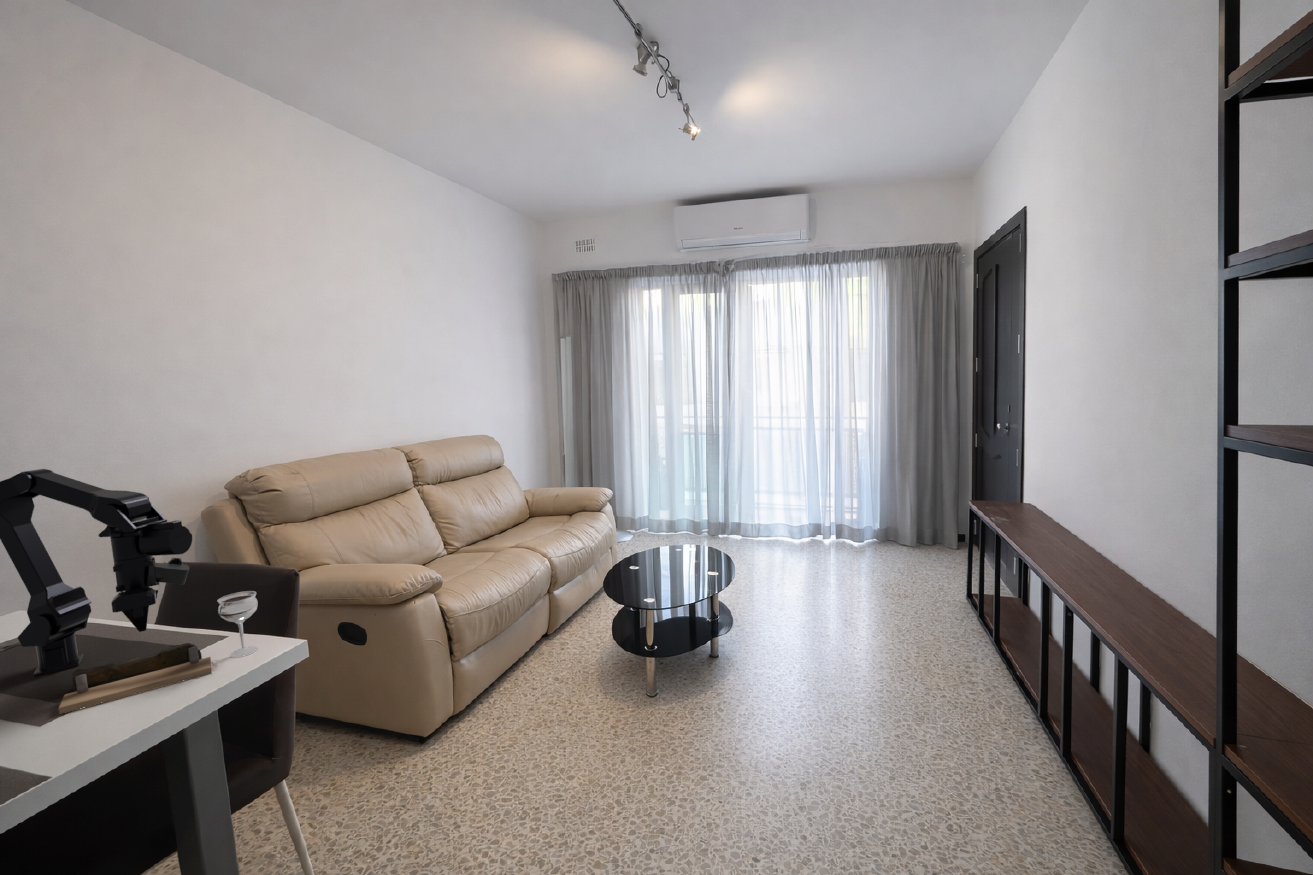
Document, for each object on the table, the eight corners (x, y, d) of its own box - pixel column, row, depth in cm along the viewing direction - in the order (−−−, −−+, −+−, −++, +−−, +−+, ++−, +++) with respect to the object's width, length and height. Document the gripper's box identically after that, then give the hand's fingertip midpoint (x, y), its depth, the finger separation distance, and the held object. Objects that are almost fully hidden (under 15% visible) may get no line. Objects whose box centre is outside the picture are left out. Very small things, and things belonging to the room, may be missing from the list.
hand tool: (71, 695, 108) (67, 671, 107) (79, 686, 111) (76, 663, 111) (198, 668, 116) (196, 646, 116) (203, 660, 120) (200, 638, 120)
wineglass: (260, 654, 121) (253, 598, 120) (220, 662, 118) (213, 605, 117) (265, 641, 127) (259, 588, 126) (227, 649, 124) (221, 595, 123)
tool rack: (65, 700, 105) (62, 678, 105) (211, 662, 118) (208, 642, 118) (59, 714, 101) (56, 691, 100) (211, 673, 113) (209, 652, 113)
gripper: (183, 557, 115) (192, 632, 117) (184, 539, 130) (193, 607, 131) (106, 570, 108) (117, 650, 110) (116, 550, 123) (126, 621, 124)
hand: (142, 630), depth 119 cm, fingers closed
